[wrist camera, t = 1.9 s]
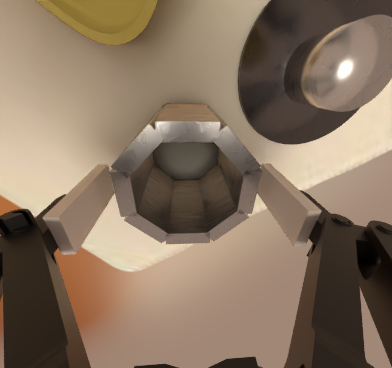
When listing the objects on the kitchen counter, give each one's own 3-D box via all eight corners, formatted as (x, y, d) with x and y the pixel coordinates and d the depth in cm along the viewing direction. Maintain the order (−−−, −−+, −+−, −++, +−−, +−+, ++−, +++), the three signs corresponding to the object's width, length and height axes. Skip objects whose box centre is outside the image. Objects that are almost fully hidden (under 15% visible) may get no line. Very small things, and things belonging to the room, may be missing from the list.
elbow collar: (135, 102, 17) (96, 120, 10) (234, 104, 18) (273, 122, 10) (147, 188, 22) (128, 245, 15) (224, 187, 23) (245, 241, 15)
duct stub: (253, -44, 13) (293, -115, 8) (425, -30, 14) (551, -88, 9) (229, 142, 20) (244, 161, 15) (345, 143, 21) (392, 161, 16)
